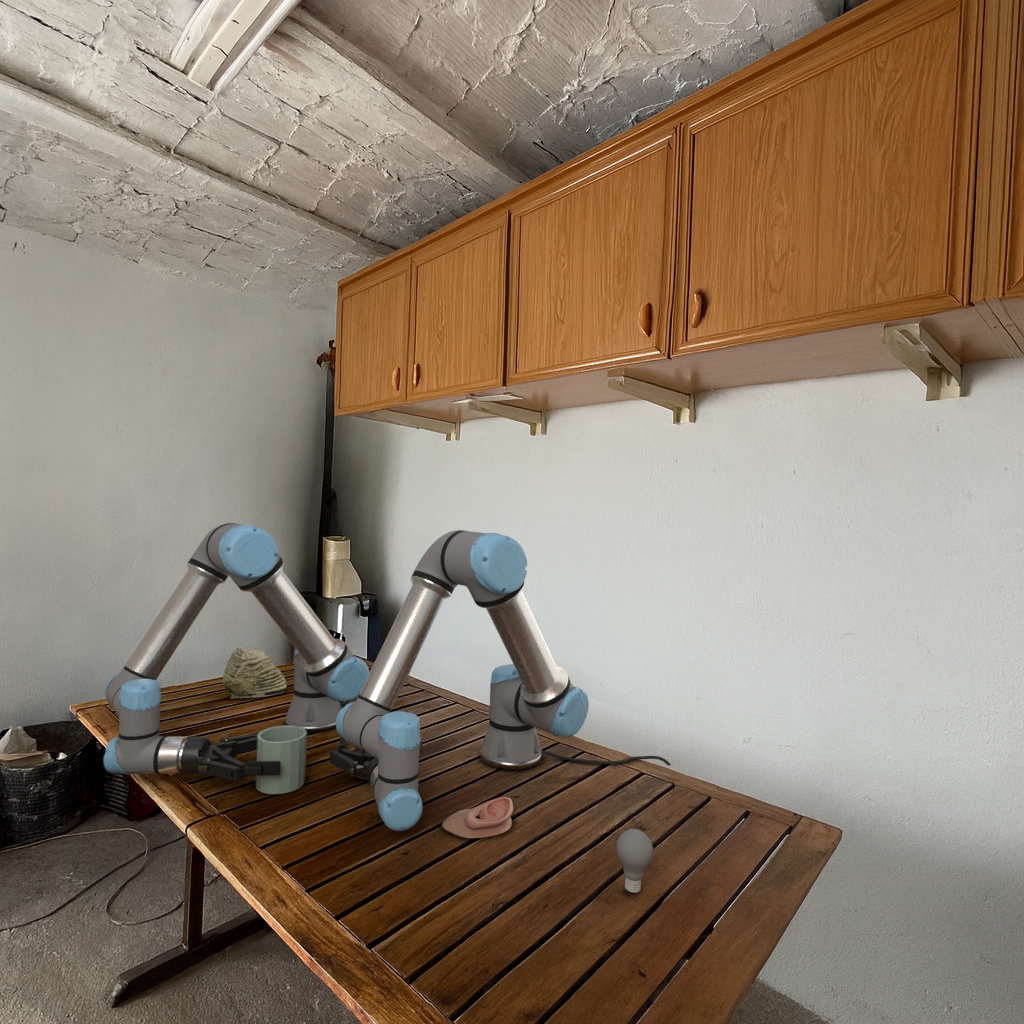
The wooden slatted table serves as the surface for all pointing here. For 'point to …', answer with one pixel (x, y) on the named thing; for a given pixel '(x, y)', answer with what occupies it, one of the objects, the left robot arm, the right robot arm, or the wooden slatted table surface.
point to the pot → (282, 758)
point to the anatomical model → (481, 819)
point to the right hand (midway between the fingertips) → (371, 738)
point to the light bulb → (634, 857)
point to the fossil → (252, 674)
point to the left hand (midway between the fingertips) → (287, 754)
